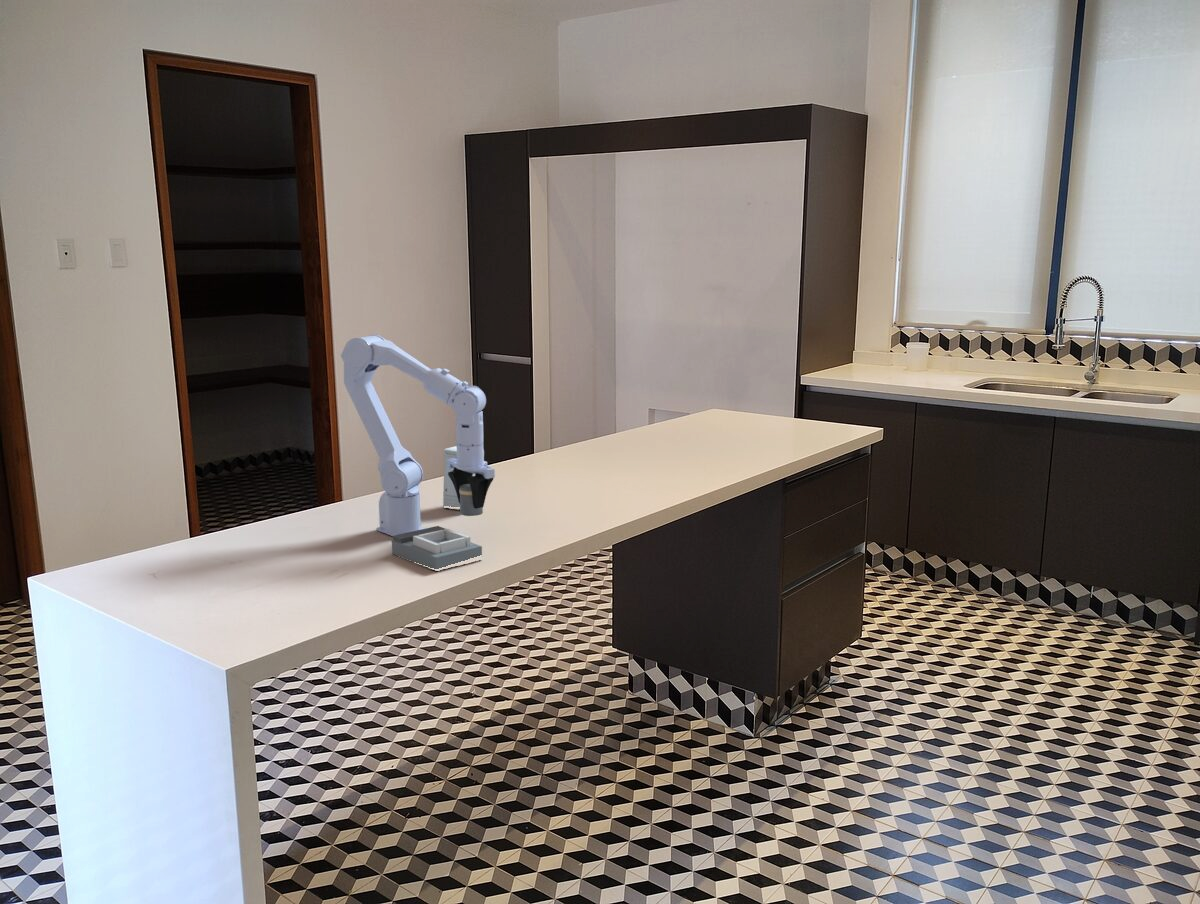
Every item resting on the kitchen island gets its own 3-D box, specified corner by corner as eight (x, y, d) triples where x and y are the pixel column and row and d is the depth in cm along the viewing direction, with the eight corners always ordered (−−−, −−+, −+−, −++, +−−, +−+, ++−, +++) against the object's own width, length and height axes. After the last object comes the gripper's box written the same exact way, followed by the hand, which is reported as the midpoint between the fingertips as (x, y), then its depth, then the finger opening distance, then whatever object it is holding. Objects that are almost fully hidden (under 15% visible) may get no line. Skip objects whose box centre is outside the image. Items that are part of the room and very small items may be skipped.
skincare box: (442, 509, 234) (441, 449, 231) (456, 503, 240) (454, 444, 237) (472, 513, 231) (471, 452, 228) (485, 507, 236) (484, 447, 233)
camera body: (392, 554, 199) (391, 531, 198) (436, 543, 207) (436, 521, 206) (436, 572, 188) (435, 548, 187) (482, 560, 195) (481, 537, 194)
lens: (455, 512, 211) (454, 486, 210) (474, 509, 214) (473, 482, 213) (468, 517, 207) (468, 490, 206) (487, 513, 211) (487, 486, 209)
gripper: (505, 446, 205) (506, 508, 208) (465, 436, 215) (466, 495, 218) (478, 450, 200) (479, 514, 203) (438, 440, 211) (440, 501, 213)
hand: (471, 505), depth 210 cm, fingers closed on lens, 5 cm apart
